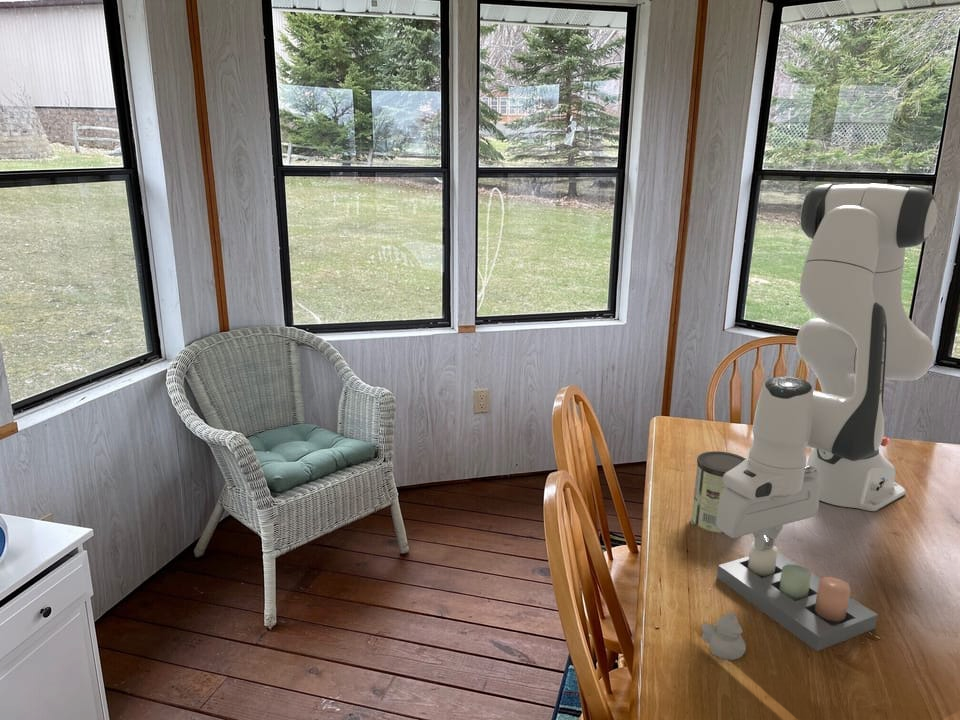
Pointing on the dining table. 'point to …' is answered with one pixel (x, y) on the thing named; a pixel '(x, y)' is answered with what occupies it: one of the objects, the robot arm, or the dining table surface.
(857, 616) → the grey rectangular tray
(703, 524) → the coffee can
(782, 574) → the sage button
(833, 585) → the terracotta button
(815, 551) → the dining table surface
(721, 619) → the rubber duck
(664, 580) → the dining table surface
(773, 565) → the ivory button
